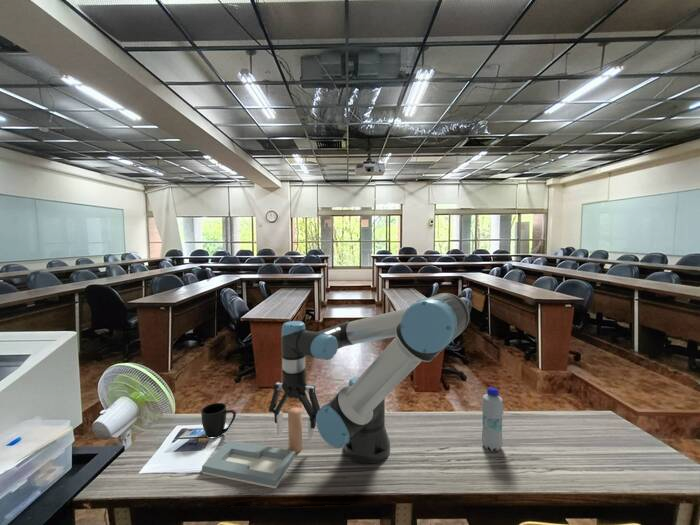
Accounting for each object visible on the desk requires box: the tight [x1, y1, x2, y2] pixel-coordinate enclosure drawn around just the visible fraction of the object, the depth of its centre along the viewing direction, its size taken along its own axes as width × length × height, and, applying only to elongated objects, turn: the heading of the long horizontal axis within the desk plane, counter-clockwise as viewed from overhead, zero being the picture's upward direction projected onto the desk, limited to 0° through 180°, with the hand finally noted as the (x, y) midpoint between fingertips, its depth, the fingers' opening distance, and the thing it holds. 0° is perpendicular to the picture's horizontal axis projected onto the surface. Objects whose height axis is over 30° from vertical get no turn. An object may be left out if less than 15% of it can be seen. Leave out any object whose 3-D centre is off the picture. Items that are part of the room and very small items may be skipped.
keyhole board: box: [201, 440, 296, 489], centre depth 98 cm, size 24×13×2 cm, turn 75°
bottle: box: [481, 386, 505, 452], centre depth 106 cm, size 7×7×20 cm
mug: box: [201, 402, 237, 438], centre depth 115 cm, size 8×12×10 cm
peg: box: [287, 406, 303, 454], centre depth 106 cm, size 4×4×13 cm
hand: (295, 434), depth 106 cm, fingers open, 10 cm apart
